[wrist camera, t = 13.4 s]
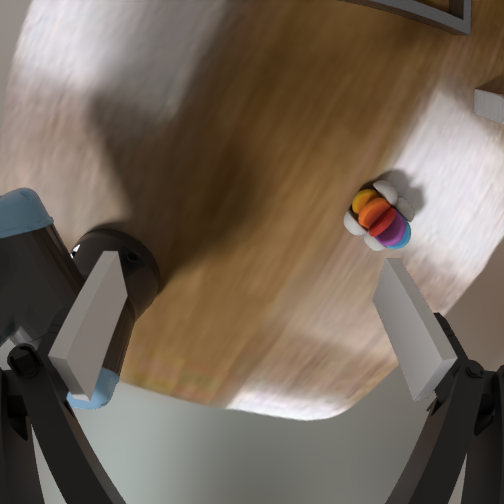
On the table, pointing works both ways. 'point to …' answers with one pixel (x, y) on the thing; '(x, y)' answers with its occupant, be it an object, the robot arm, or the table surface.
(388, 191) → the rainbow disc toy
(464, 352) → the robot arm
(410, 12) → the rack
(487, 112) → the white printed box
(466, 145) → the table surface
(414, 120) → the table surface
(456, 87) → the table surface
